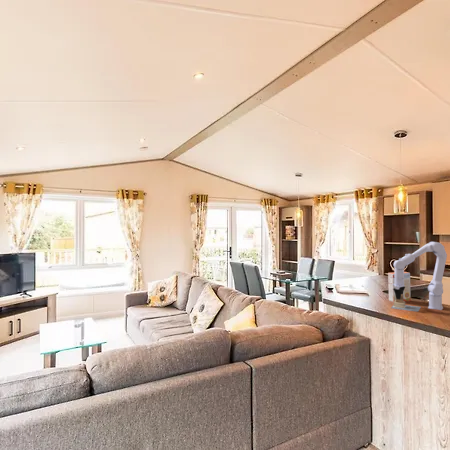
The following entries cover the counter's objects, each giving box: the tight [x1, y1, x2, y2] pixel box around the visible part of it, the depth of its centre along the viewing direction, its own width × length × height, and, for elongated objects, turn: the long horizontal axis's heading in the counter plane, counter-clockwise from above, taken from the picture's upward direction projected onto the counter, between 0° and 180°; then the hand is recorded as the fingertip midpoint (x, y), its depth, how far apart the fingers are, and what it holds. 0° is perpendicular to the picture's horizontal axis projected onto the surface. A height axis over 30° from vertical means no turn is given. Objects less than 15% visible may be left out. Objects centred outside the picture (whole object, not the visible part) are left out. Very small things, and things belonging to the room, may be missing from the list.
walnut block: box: [396, 294, 403, 303], centre depth 226 cm, size 4×4×5 cm
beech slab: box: [393, 301, 406, 308], centre depth 226 cm, size 6×6×3 cm
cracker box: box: [387, 271, 412, 303], centre depth 242 cm, size 14×6×21 cm, turn 100°
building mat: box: [390, 304, 422, 313], centre depth 223 cm, size 14×16×1 cm
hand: (399, 298), depth 226 cm, fingers open, 7 cm apart
